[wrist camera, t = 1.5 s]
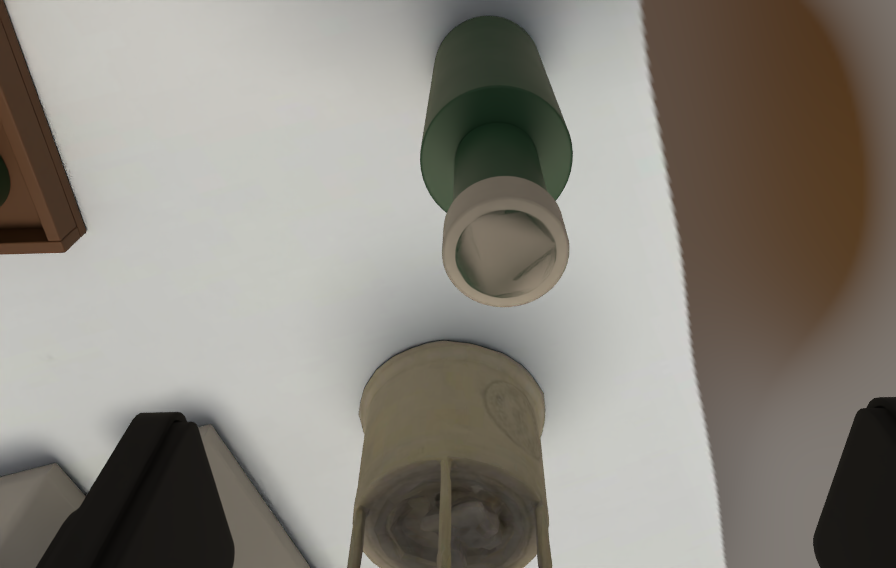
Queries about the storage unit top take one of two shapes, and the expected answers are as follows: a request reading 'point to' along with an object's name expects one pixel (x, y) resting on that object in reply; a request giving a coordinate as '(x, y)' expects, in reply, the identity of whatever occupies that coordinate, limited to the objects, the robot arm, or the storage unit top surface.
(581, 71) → the storage unit top surface
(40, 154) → the tray
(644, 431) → the storage unit top surface
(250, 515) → the grey compartment organizer
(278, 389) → the storage unit top surface
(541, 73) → the bottle
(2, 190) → the bottle end
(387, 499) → the lamp
